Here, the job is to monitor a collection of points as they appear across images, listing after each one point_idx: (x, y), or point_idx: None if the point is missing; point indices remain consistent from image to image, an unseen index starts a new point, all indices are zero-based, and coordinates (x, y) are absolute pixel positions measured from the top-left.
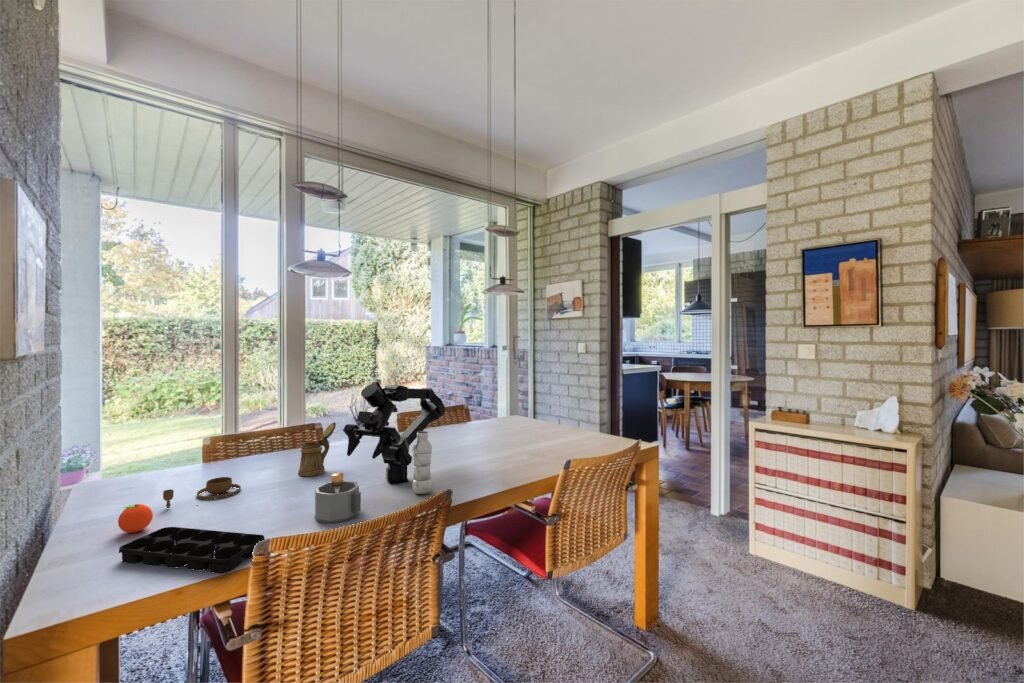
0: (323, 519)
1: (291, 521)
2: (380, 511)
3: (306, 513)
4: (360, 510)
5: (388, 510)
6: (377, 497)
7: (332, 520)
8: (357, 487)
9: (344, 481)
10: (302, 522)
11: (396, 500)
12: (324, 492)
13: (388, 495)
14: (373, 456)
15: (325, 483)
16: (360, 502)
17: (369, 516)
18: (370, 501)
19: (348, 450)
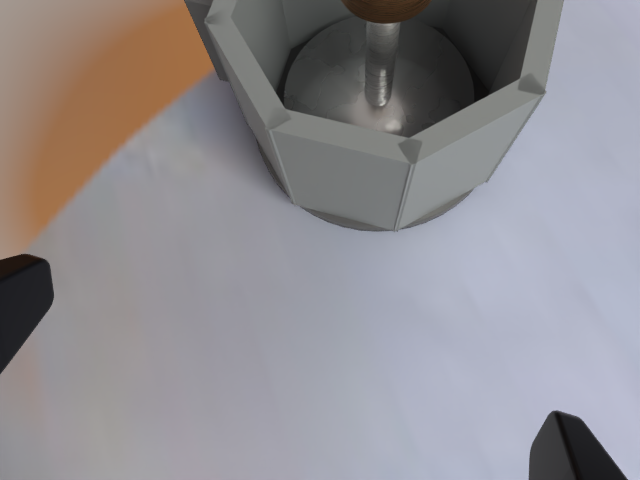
0: None
1: (593, 22)
2: (134, 180)
3: (576, 126)
4: (219, 77)
5: (89, 197)
6: (213, 427)
7: None
8: (211, 6)
9: (386, 134)
10: None
11: (64, 369)
12: (508, 78)
13: (139, 474)
14: (16, 259)
15: (541, 72)
16: (206, 47)
17: (181, 110)
18: (242, 342)
19: (598, 472)
